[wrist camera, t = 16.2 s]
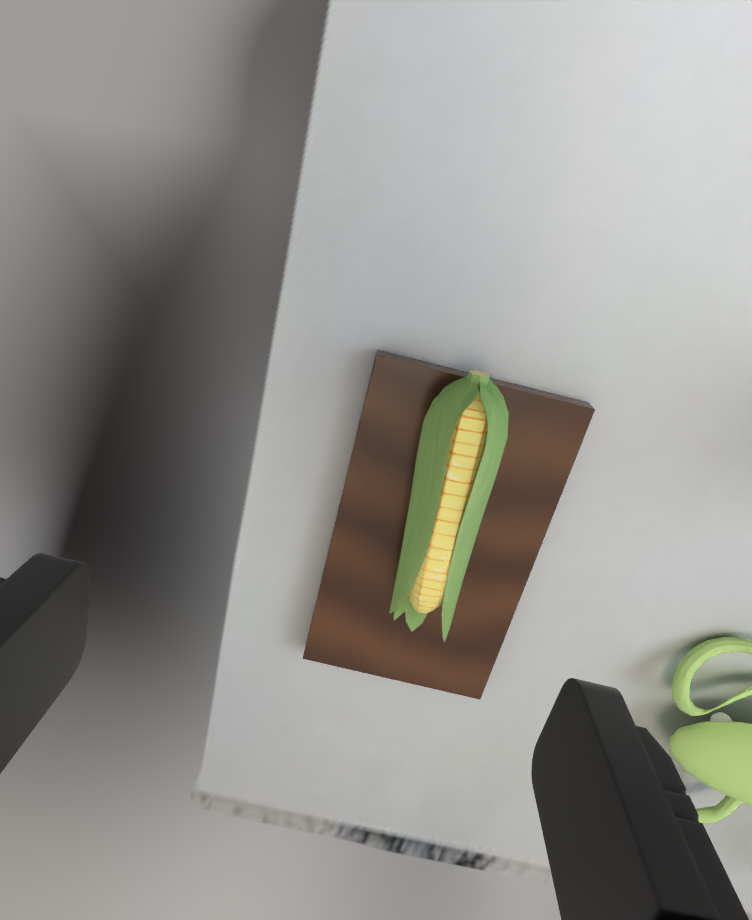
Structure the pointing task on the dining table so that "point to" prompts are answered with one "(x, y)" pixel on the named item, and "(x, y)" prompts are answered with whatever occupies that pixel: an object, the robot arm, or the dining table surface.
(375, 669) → the serving board
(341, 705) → the dining table surface
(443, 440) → the edible corn
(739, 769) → the figurine
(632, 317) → the dining table surface
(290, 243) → the dining table surface
